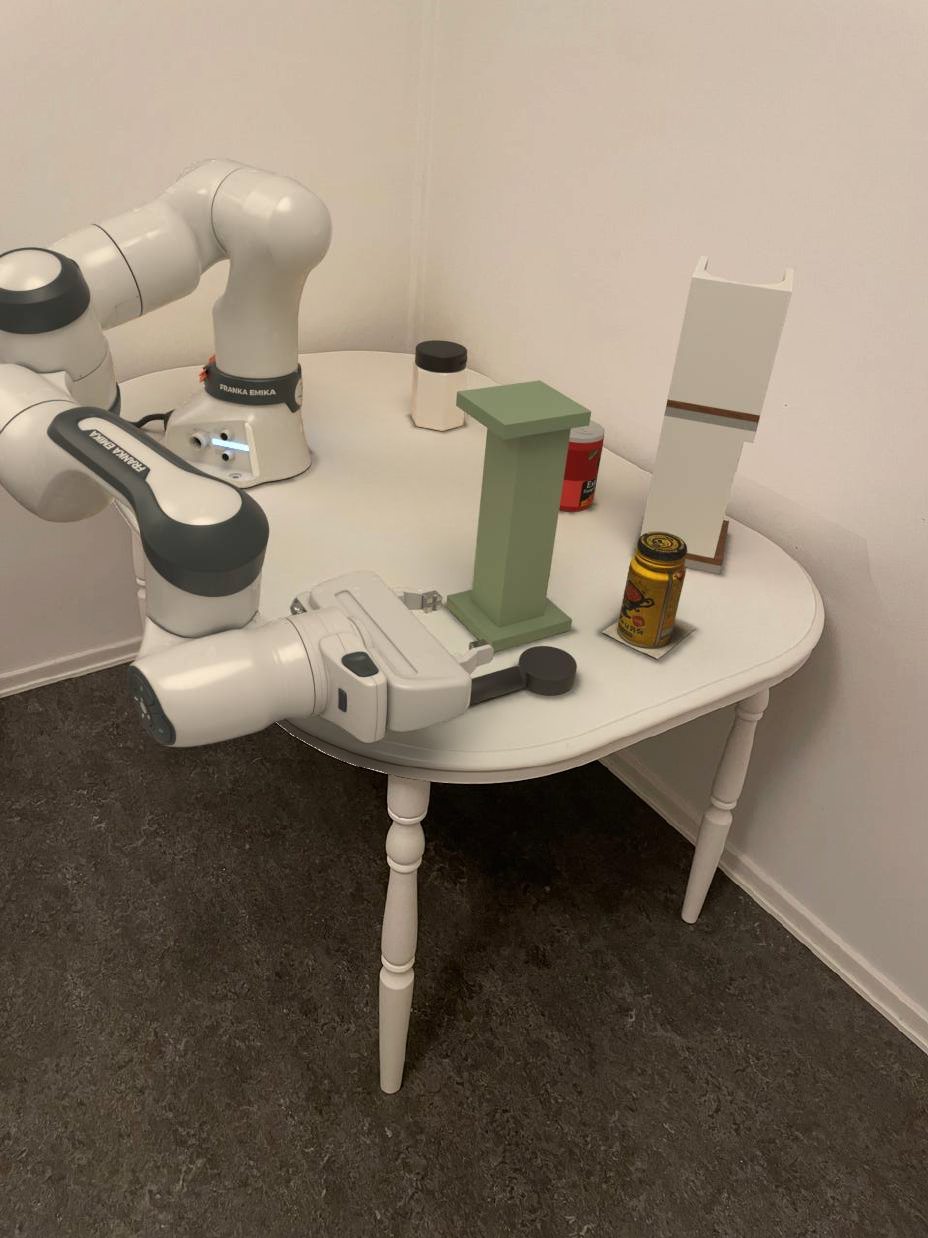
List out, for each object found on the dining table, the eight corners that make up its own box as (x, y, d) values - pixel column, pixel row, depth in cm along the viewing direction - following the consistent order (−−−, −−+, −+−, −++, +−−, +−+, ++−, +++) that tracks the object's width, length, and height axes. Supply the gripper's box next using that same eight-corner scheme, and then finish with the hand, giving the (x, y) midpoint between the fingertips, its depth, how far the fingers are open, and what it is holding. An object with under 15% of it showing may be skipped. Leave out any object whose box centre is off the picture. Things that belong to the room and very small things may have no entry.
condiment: (601, 633, 108) (619, 540, 101) (640, 605, 114) (659, 515, 107) (657, 661, 104) (679, 566, 98) (694, 630, 110) (718, 538, 103)
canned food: (590, 516, 132) (603, 441, 126) (533, 507, 133) (542, 432, 127) (595, 492, 138) (607, 420, 132) (540, 484, 139) (550, 412, 133)
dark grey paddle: (437, 733, 92) (438, 714, 90) (408, 698, 96) (409, 678, 94) (585, 686, 100) (589, 667, 98) (553, 655, 104) (555, 637, 102)
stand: (483, 655, 103) (508, 426, 88) (438, 608, 110) (454, 389, 95) (570, 630, 108) (607, 411, 94) (522, 587, 115) (549, 376, 101)
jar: (467, 431, 154) (473, 357, 147) (417, 432, 152) (421, 357, 145) (455, 410, 161) (461, 339, 154) (407, 410, 159) (411, 338, 152)
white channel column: (719, 574, 121) (792, 291, 102) (636, 556, 123) (691, 277, 104) (725, 534, 131) (793, 268, 111) (648, 518, 133) (701, 255, 113)
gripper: (283, 627, 93) (410, 596, 99) (376, 756, 79) (517, 711, 85) (281, 571, 89) (413, 543, 96) (378, 696, 75) (525, 653, 81)
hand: (463, 623), depth 90 cm, fingers open, 8 cm apart
